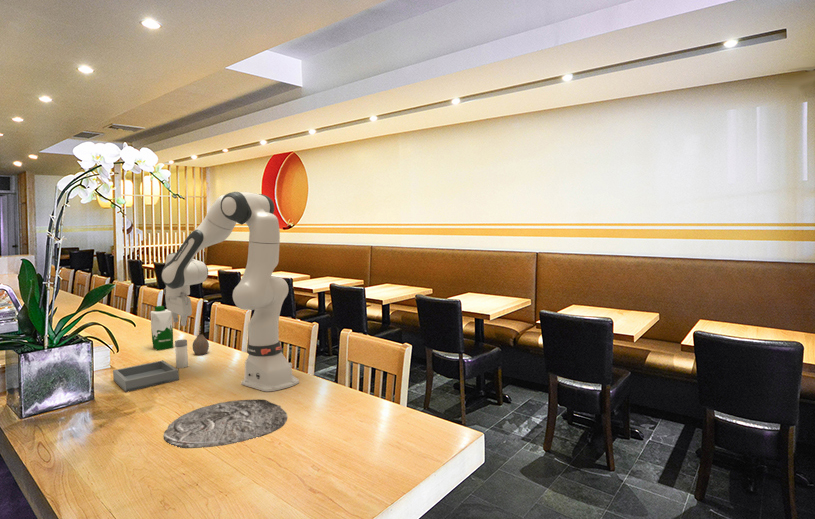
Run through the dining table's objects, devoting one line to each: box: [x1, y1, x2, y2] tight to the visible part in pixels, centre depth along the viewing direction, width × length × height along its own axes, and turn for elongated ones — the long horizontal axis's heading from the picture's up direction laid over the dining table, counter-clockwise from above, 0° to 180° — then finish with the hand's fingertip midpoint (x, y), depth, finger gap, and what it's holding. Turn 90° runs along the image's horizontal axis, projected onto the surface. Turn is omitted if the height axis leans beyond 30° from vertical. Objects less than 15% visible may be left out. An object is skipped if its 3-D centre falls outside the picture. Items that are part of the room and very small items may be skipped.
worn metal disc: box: [163, 398, 288, 449], centre depth 144 cm, size 33×35×1 cm
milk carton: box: [149, 305, 174, 351], centre depth 229 cm, size 9×9×20 cm
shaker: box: [174, 338, 189, 369], centre depth 199 cm, size 5×5×11 cm
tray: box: [112, 360, 180, 393], centre depth 182 cm, size 18×18×4 cm
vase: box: [192, 334, 210, 356], centre depth 218 cm, size 7×7×9 cm
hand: (179, 323), depth 198 cm, fingers open, 8 cm apart
